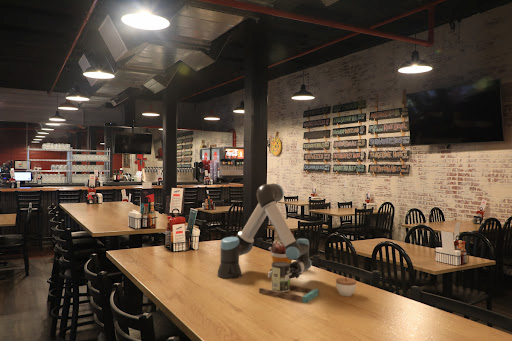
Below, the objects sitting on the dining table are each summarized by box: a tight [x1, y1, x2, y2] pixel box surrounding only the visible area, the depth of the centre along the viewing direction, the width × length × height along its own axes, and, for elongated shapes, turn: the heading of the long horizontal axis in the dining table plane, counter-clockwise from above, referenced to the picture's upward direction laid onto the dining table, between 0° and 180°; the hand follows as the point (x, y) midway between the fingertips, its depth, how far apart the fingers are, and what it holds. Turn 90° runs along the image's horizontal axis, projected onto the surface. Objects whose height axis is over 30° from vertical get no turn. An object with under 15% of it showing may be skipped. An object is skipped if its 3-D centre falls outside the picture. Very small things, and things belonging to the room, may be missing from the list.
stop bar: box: [301, 288, 320, 304], centre depth 206 cm, size 2×16×3 cm, turn 148°
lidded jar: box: [335, 276, 357, 297], centre depth 214 cm, size 11×11×9 cm
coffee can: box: [270, 262, 291, 293], centre depth 216 cm, size 10×10×14 cm
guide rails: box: [258, 284, 320, 303], centre depth 213 cm, size 28×16×2 cm, turn 58°
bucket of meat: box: [268, 239, 293, 264], centre depth 272 cm, size 20×16×20 cm
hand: (276, 276), depth 212 cm, fingers closed on coffee can, 10 cm apart
